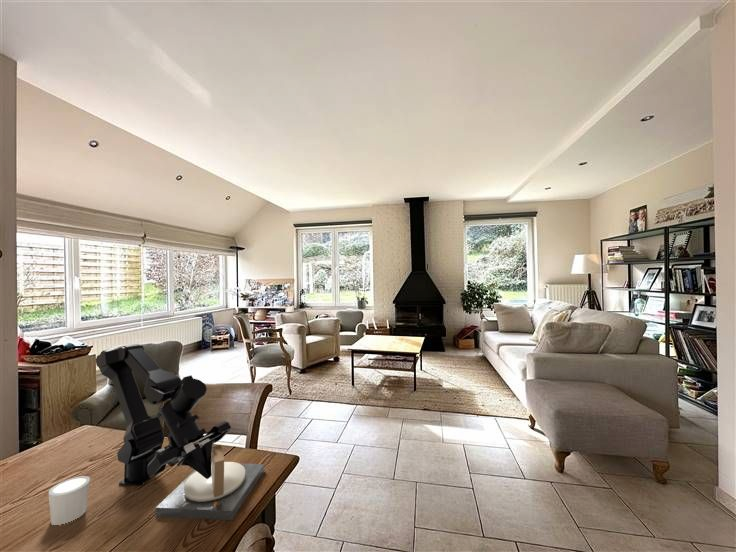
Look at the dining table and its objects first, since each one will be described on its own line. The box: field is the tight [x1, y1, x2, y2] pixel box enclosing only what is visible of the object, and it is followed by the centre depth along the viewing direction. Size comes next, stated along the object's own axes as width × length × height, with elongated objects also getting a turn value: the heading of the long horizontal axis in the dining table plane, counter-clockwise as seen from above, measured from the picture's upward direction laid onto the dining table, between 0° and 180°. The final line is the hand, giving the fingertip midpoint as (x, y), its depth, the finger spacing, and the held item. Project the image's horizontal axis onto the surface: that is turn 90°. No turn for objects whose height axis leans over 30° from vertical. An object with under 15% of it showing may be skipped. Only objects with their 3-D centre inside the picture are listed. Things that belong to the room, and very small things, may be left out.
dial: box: [184, 444, 245, 502], centre depth 77 cm, size 15×14×9 cm
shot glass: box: [48, 475, 91, 526], centre depth 69 cm, size 7×7×7 cm
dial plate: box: [154, 461, 265, 521], centre depth 77 cm, size 18×18×2 cm
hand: (209, 477), depth 71 cm, fingers closed
